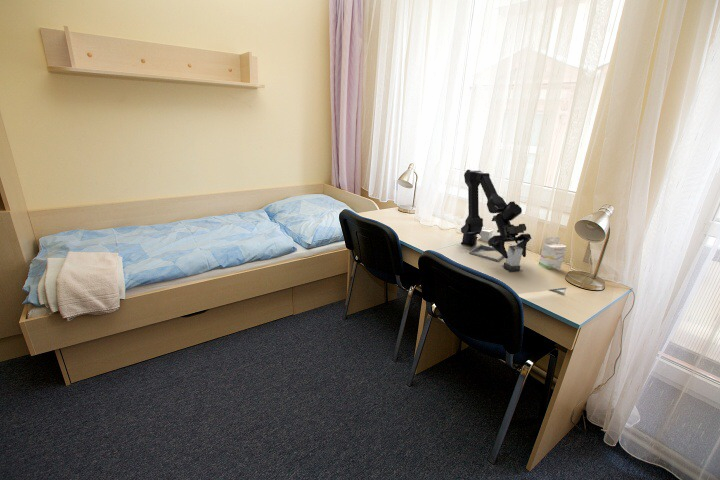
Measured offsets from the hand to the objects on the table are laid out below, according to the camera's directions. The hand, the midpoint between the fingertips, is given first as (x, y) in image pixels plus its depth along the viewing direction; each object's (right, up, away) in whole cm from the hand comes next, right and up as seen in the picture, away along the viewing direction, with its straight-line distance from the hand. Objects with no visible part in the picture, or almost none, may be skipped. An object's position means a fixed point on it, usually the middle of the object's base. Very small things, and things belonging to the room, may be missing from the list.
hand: (516, 257), depth 145 cm
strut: (-1, -5, +3) cm, 6 cm away
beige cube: (+2, +8, +43) cm, 43 cm away
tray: (-5, 0, +19) cm, 20 cm away
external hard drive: (+12, -12, -8) cm, 19 cm away
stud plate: (-1, -6, +4) cm, 7 cm away
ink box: (+19, -6, +8) cm, 21 cm away
